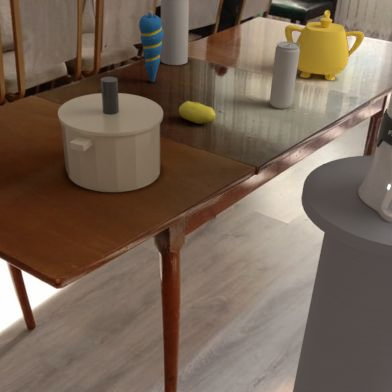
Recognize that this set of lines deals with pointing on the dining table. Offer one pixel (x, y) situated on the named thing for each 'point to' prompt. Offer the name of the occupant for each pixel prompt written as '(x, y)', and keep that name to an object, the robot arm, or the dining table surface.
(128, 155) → the pot
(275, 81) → the beverage can
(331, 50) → the yellow sugar bowl
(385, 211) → the robot arm
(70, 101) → the lid
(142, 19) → the ornament
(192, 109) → the lemon
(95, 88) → the dining table surface
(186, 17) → the bottle
